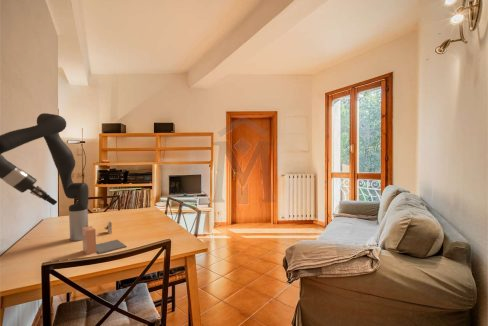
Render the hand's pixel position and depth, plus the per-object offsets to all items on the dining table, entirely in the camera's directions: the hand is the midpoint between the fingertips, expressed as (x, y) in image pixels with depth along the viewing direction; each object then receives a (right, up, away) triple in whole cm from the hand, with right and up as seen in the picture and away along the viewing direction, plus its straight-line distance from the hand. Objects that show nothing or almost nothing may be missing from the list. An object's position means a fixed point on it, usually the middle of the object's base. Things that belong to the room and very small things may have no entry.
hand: (55, 203), depth 117 cm
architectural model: (+4, -26, +40) cm, 48 cm away
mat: (+17, -26, +15) cm, 34 cm away
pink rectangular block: (+11, -26, +9) cm, 30 cm away
